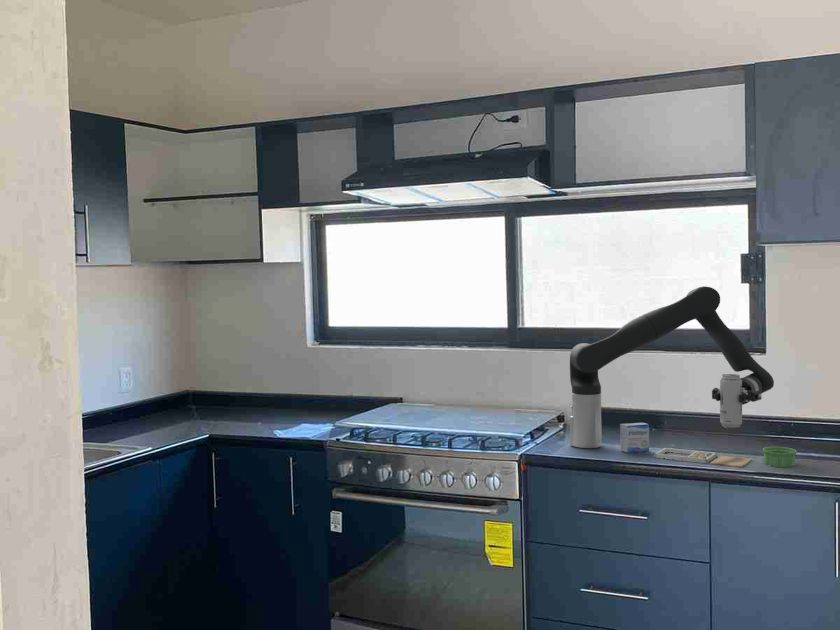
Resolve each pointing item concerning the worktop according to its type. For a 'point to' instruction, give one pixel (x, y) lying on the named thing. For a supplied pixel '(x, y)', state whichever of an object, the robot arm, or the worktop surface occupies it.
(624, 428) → the medicine box
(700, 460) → the parts tray
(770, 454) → the ramekin
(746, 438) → the worktop surface
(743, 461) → the cork mat
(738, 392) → the energy drink can
